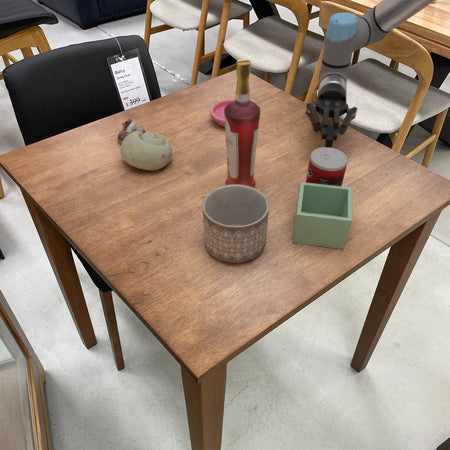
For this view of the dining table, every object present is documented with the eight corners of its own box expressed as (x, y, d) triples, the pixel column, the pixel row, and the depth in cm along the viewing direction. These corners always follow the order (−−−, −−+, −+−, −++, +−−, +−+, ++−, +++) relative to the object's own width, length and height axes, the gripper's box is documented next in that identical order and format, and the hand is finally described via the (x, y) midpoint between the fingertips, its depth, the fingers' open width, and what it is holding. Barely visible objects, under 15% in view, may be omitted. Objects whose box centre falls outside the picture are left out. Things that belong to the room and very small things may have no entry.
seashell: (169, 123, 107) (165, 141, 100) (175, 154, 112) (172, 173, 105) (118, 129, 108) (111, 146, 100) (126, 159, 113) (120, 178, 106)
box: (343, 249, 90) (351, 220, 84) (292, 242, 91) (296, 214, 85) (344, 216, 96) (352, 187, 90) (296, 210, 97) (300, 181, 92)
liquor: (221, 180, 104) (219, 56, 83) (250, 175, 106) (256, 52, 84) (229, 199, 100) (229, 72, 78) (259, 194, 101) (268, 68, 79)
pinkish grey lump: (127, 129, 119) (124, 112, 115) (152, 135, 117) (149, 117, 114) (112, 144, 114) (108, 127, 111) (137, 150, 113) (134, 132, 109)
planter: (203, 225, 94) (201, 185, 86) (261, 222, 95) (264, 182, 87) (206, 268, 86) (203, 228, 78) (269, 264, 87) (273, 225, 79)
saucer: (243, 105, 127) (243, 95, 125) (262, 126, 120) (263, 115, 117) (203, 114, 124) (203, 103, 121) (221, 136, 117) (221, 125, 114)
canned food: (316, 184, 103) (324, 142, 95) (344, 199, 100) (355, 157, 91) (296, 199, 100) (302, 157, 91) (324, 215, 96) (333, 172, 88)
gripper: (353, 112, 118) (354, 162, 103) (305, 108, 119) (298, 156, 105) (360, 84, 112) (361, 132, 97) (309, 80, 113) (302, 127, 99)
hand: (329, 145), depth 101 cm, fingers closed
